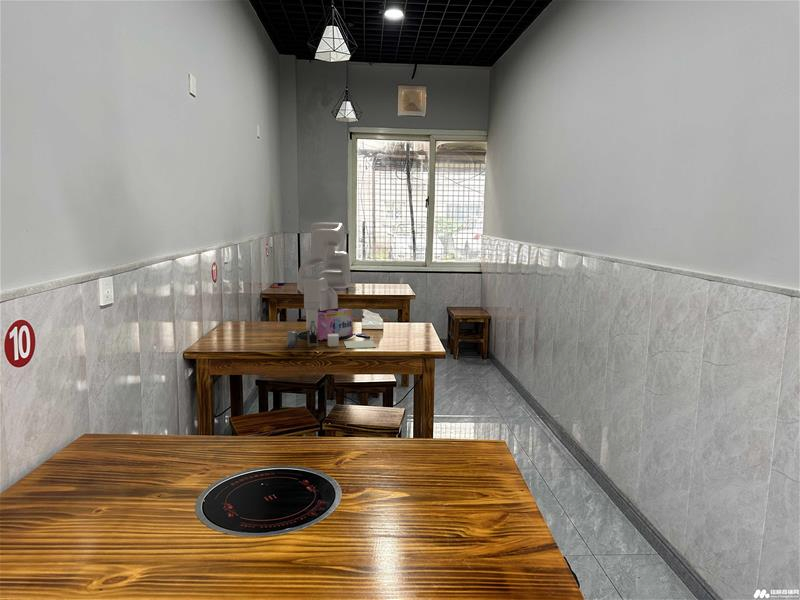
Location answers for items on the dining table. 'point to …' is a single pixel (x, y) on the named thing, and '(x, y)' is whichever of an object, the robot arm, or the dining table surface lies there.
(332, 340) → the grey block
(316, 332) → the walnut block
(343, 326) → the gum box
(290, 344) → the metal tin
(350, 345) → the sage mat
